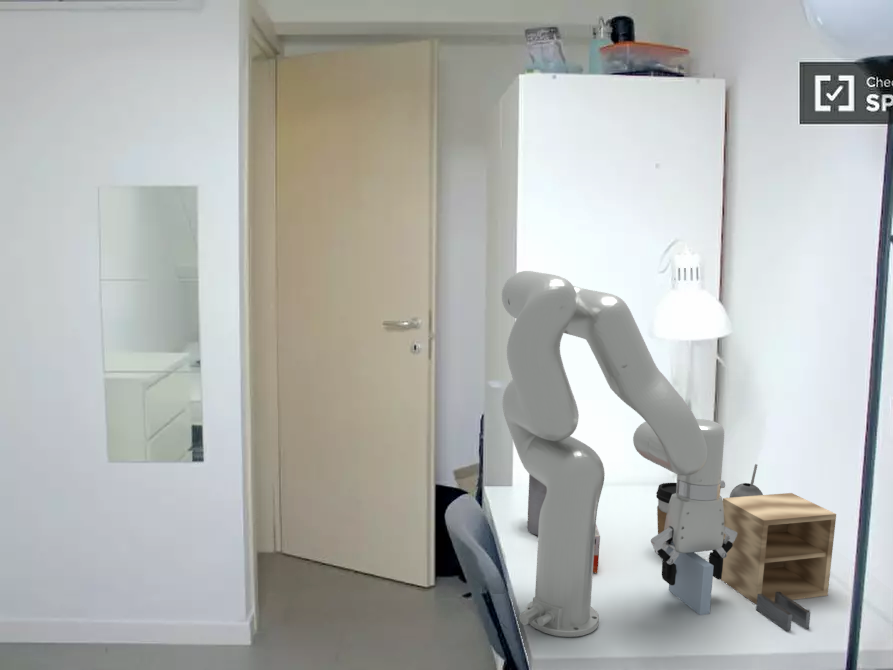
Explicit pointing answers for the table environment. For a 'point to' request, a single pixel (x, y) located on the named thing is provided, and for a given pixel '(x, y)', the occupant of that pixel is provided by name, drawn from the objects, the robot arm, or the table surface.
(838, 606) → the table surface
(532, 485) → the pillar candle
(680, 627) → the table surface
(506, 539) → the table surface
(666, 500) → the coffee cup
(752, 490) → the beverage cup
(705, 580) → the door panel
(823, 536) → the cabinet
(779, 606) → the hinge clips
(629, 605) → the table surface
